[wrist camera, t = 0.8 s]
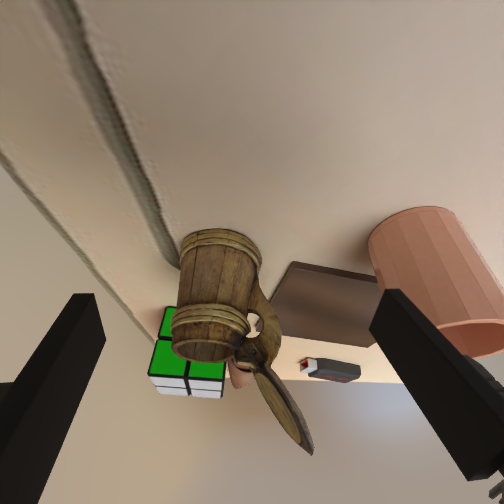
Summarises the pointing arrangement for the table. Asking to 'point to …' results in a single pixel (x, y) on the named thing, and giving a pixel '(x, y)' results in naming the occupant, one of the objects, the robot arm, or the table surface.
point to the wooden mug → (231, 318)
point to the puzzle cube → (182, 368)
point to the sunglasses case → (239, 374)
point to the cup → (441, 277)
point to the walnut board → (326, 305)
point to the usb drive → (330, 370)
